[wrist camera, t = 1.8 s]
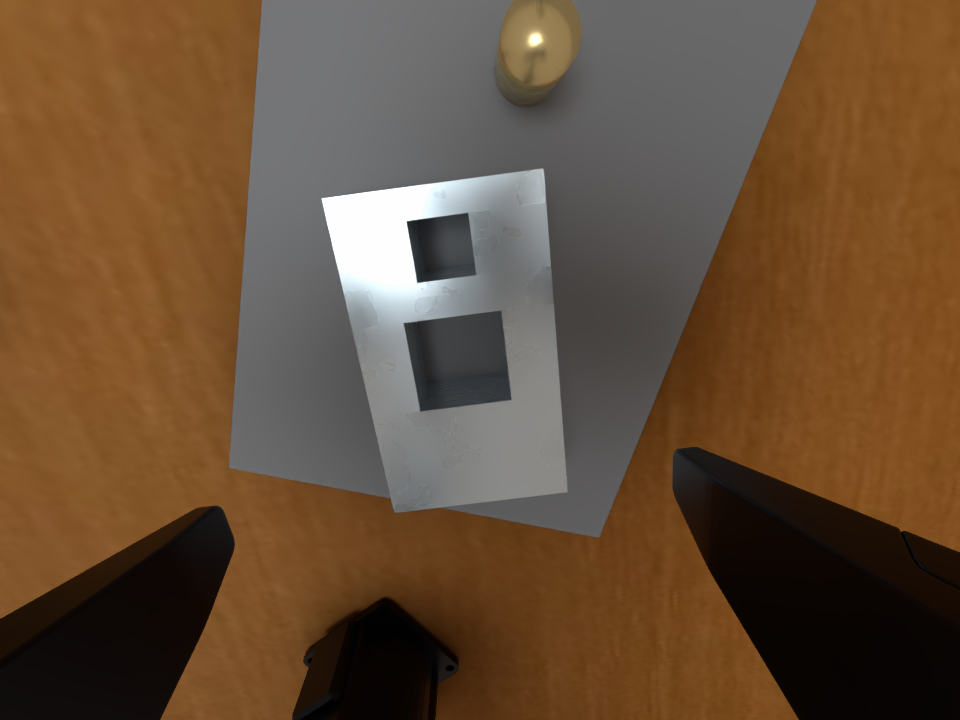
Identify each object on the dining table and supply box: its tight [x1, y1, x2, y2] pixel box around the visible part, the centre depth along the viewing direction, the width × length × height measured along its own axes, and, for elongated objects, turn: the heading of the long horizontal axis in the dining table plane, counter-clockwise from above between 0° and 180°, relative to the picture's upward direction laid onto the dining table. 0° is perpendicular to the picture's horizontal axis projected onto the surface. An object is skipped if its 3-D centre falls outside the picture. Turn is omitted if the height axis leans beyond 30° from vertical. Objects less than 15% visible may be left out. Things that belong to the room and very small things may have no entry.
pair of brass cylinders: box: [494, 0, 581, 107], centre depth 14 cm, size 6×2×4 cm, turn 142°
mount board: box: [229, 0, 817, 538], centre depth 18 cm, size 26×18×1 cm
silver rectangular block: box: [322, 168, 568, 513], centre depth 17 cm, size 12×7×3 cm, turn 7°
